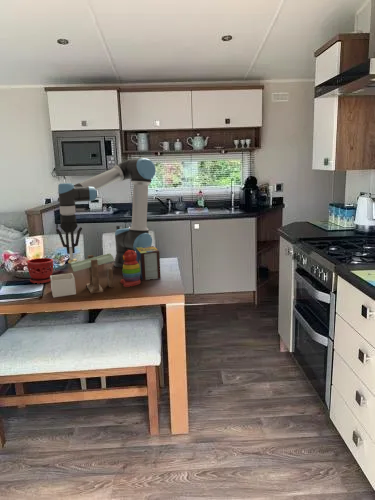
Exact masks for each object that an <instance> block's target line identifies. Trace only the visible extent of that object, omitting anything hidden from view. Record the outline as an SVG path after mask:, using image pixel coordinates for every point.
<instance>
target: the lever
mask: <svg viewBox="0 0 375 500" xmlns="http://www.w3.org/2000/svg"><path fill="white" fill-rule="evenodd" d="M95 259H97V263H98V266H100V265H104V264H105V265H108V264H112V263H114V261H115V258H114V256H113V255H112V253H105V254H101V255H98V256H94V257H93V258H90V259H88V258H87V259H83V260H79V261H78V260H77V258H73V260H70V259H69V260H67V263H68V264H70V266H71V269H72V270H73V271H72V272H79V271H81V270H86V269H89V268H90V267H91V260H95Z"/></svg>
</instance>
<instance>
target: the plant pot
mask: <svg viewBox="0 0 375 500" xmlns="http://www.w3.org/2000/svg"><path fill="white" fill-rule="evenodd" d="M26 266H27V270H28V274H29V276H30V278H29V281H30V283H32V284H35V283H37V284H36V285H38V284H39V285H40V283H41V284H45V283H49V282H51V280H50V276H52V275H53V272H54V259H53V258H47V257H38V258H31V259H29V260H27V262H26Z"/></svg>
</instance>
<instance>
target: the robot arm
mask: <svg viewBox="0 0 375 500" xmlns="http://www.w3.org/2000/svg"><path fill="white" fill-rule="evenodd" d="M156 172H157V171H156V166H155V163H154V162H153V161H152V160H151V159H149V158H144V157H141V158H130V159H126V160H125V161H122V162H120V163H118V164H116V165H113V168H111V169H109V170H106V171H104V172H102V173H99V174H97V175H94V176H92V177H90V178H87V179H85V180H83V181H81V182H80V181H79V182H78V183H75V184H74V183H71V182H70V183H69V182H68V183H66V182H63V183H62V182H61V183H59V184H58V188H57V189H58V190H57V194H58V200H59V201H58V203H59V214H60V215H59V217H60V225H59V227H56V229H55V231H56V232H57V233H58V235H59V238H60V241H61V244H62V247H63V248H66V253H67V255H68V256H69V260H73V259H74V254H75V253H76V252H75V251H76V249H75V247H77V246H79V242H80V235H81V232H82V230H83V228H82V226H79V225H78V223H77V214H76V203H77V202H78V203H80V202H93V201H95V200H96V199H97V196H98V195H97V193H98V192H97V191H98V190H100V189H103V188H106V187H107V186H109V185H112V184H115V183H116V182H123V181H126V180H130V182H131V184H132V185H133V187H132V188H133V189H132V209H131V210H132V212H131V213H132V214H131V216H132V217H131V226H130V227H126V228H119V229H116V230H115V231H114V233H115V234H114V238H115V239H114V240H115V258H114V261H113V266H114V267H115V268H120V269H121V268H122V269H123V264H124V262H125V261H124V260H123V258H122V257H123V255H124V253H125V252H126V251H128V250H133V251H135V252H136V247H148V246H153V238H152V235H150V230H149V228H148V225H147V222H148V219H147V218H148V202H149V201H148V200H149V199H148V198H149V186H150V185H151V184H152V179H153V178H154V177H155V175H156ZM62 231H63V232H64V233H65V234H64V235H65V240H64V237H63V234H62ZM75 231H77V232H76V237H75V236H74V235H75V234H74V233H75ZM69 233H70V238H69ZM70 241H71V243H70ZM70 245H71V246H70Z"/></svg>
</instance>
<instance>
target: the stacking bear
mask: <svg viewBox="0 0 375 500" xmlns="http://www.w3.org/2000/svg"><path fill="white" fill-rule="evenodd" d="M122 258H123V260H124V261H125V262H124V264H123V268H122V270H121V271H122V276H123V278H122V279H120V281H119V282H120V284H123V287H125V288H130V286H131V287H135V286H138V285H140V284H142V283H141V282H142V280H141V278H140V273H141V271H140V266H139V263H138V262H137V261H136V258H137V254H136V251H133V250H128V251H126V252H125V253H124V255H123V257H122Z"/></svg>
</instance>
